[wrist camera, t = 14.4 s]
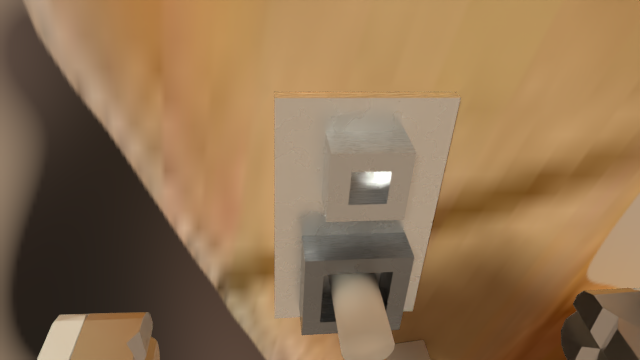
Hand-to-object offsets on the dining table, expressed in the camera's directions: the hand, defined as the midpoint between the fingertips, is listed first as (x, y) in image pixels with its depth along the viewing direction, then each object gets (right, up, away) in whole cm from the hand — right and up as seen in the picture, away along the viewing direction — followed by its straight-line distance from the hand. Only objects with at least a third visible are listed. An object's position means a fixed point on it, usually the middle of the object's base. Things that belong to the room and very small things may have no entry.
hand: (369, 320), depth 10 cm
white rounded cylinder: (+2, -5, +34) cm, 35 cm away
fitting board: (+2, 0, +32) cm, 32 cm away
